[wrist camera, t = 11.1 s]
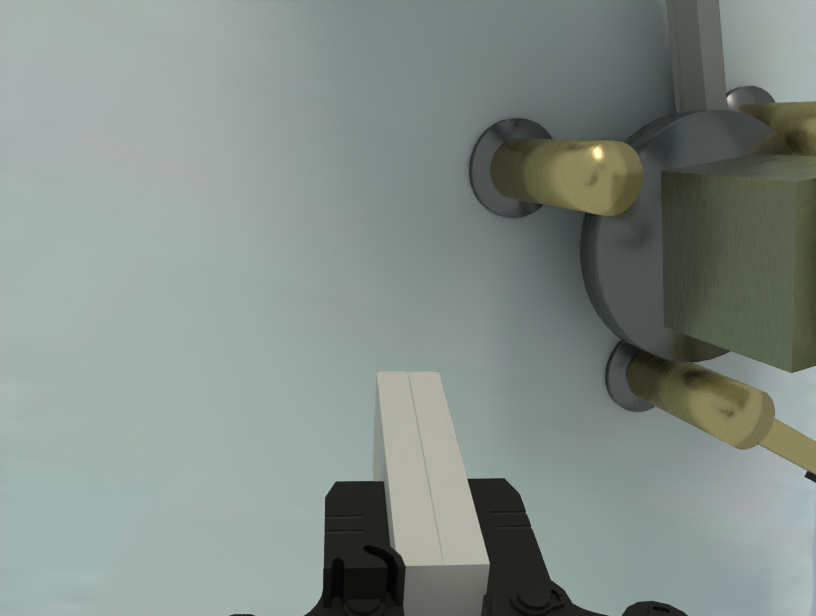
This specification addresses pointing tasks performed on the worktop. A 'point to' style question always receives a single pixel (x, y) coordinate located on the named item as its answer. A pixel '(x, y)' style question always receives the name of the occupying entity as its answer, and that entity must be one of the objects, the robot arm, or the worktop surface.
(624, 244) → the surveying level
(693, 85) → the adjustable wrench
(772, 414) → the lever
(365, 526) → the robot arm
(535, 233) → the worktop surface
